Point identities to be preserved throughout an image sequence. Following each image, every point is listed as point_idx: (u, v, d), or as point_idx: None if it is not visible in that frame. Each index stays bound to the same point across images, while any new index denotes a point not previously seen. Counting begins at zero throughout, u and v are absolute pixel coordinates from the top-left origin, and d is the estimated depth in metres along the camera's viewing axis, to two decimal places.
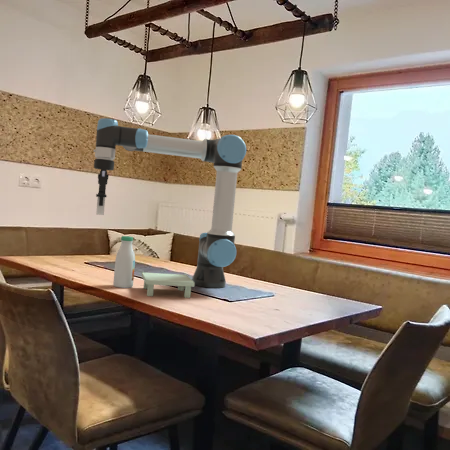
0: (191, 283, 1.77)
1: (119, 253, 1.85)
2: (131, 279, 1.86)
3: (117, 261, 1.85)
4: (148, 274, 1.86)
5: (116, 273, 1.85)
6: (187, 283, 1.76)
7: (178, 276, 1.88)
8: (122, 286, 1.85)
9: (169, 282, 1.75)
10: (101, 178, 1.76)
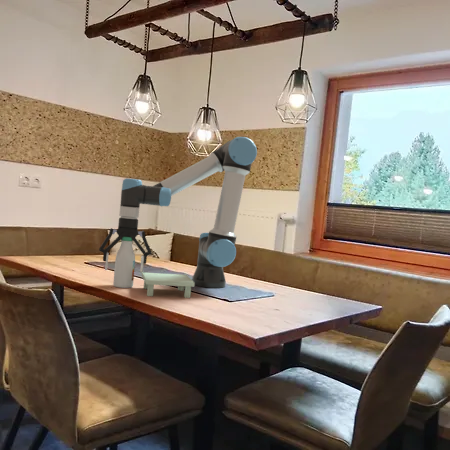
0: (191, 283, 1.77)
1: (119, 253, 1.85)
2: (131, 279, 1.86)
3: (117, 261, 1.85)
4: (148, 274, 1.86)
5: (116, 273, 1.85)
6: (187, 283, 1.76)
7: (178, 276, 1.88)
8: (122, 286, 1.85)
9: (169, 282, 1.75)
10: None
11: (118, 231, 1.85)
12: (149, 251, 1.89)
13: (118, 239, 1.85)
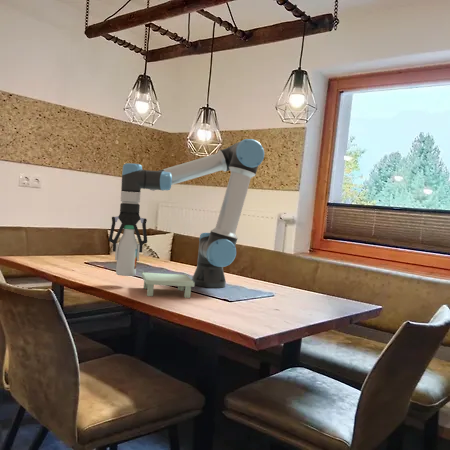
0: (191, 283, 1.77)
1: (121, 241, 1.85)
2: (134, 267, 1.86)
3: (119, 249, 1.85)
4: (148, 274, 1.86)
5: (119, 261, 1.85)
6: (187, 283, 1.76)
7: (178, 276, 1.88)
8: (125, 274, 1.84)
9: (169, 282, 1.75)
10: None
11: (120, 217, 1.85)
12: (145, 239, 1.88)
13: (122, 226, 1.85)
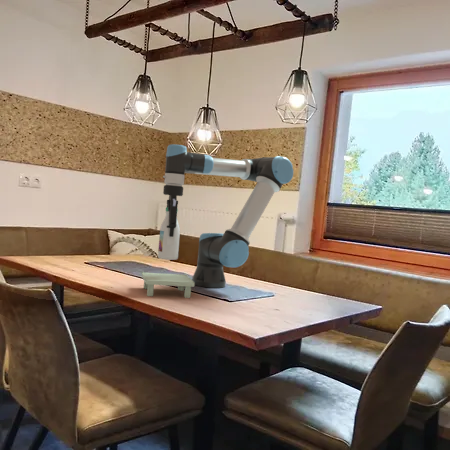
0: (191, 283, 1.77)
1: (176, 225, 1.81)
2: None
3: (176, 233, 1.81)
4: (148, 274, 1.86)
5: (175, 246, 1.81)
6: (187, 283, 1.76)
7: (178, 276, 1.88)
8: (177, 257, 1.84)
9: (169, 282, 1.75)
10: (172, 208, 1.76)
11: (176, 200, 1.79)
12: None
13: None
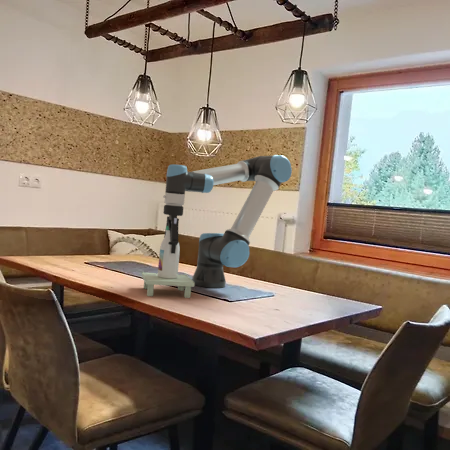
0: (191, 283, 1.77)
1: None
2: None
3: (176, 252, 1.81)
4: (148, 274, 1.86)
5: (175, 265, 1.81)
6: (187, 283, 1.76)
7: (178, 276, 1.88)
8: None
9: (169, 282, 1.75)
10: (173, 226, 1.75)
11: None
12: None
13: None
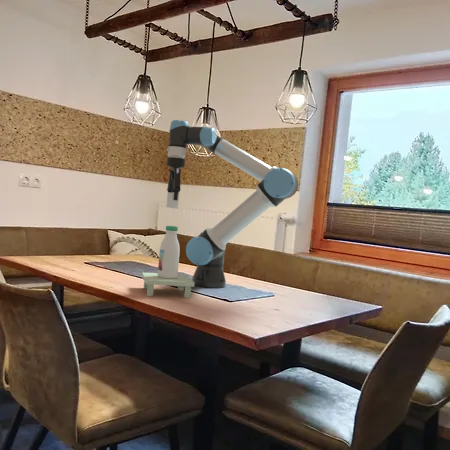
0: (191, 283, 1.77)
1: (176, 244, 1.81)
2: None
3: (176, 252, 1.81)
4: (148, 274, 1.86)
5: (175, 265, 1.81)
6: (187, 283, 1.76)
7: (178, 276, 1.88)
8: None
9: (169, 282, 1.75)
10: (176, 175, 1.93)
11: None
12: None
13: None
